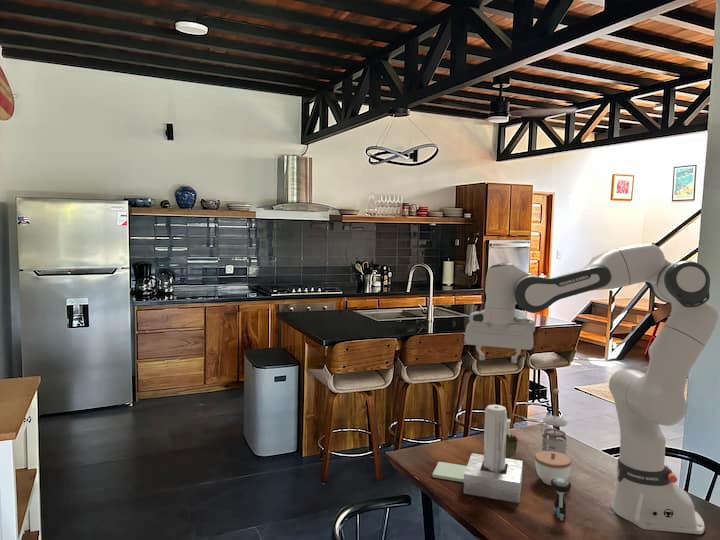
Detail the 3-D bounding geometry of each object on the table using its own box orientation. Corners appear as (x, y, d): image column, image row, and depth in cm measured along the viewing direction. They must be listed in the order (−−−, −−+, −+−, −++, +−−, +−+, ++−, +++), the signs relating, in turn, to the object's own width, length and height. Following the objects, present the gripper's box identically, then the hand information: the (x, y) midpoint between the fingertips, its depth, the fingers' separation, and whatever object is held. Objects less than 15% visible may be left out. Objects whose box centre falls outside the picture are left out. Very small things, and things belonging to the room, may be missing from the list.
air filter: (507, 484, 164) (509, 406, 162) (500, 493, 158) (503, 411, 156) (486, 479, 167) (489, 402, 165) (479, 487, 162) (482, 407, 160)
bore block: (522, 479, 167) (522, 460, 167) (519, 503, 152) (519, 483, 152) (471, 470, 173) (471, 453, 172) (463, 493, 158) (464, 473, 157)
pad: (468, 469, 174) (468, 466, 174) (463, 482, 165) (463, 479, 165) (438, 464, 178) (438, 461, 178) (432, 477, 168) (432, 474, 168)
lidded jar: (532, 472, 173) (533, 444, 172) (566, 475, 171) (567, 447, 170) (536, 487, 162) (537, 458, 161) (573, 491, 160) (574, 461, 159)
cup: (517, 465, 177) (518, 442, 177) (495, 463, 179) (496, 440, 178) (515, 456, 185) (516, 434, 184) (494, 454, 186) (495, 432, 186)
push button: (572, 523, 142) (573, 487, 141) (551, 520, 143) (552, 485, 143) (568, 510, 149) (569, 476, 148) (548, 508, 150) (549, 474, 149)
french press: (549, 467, 176) (551, 394, 175) (530, 453, 188) (532, 384, 186) (574, 464, 179) (577, 392, 177) (554, 450, 190) (557, 382, 188)
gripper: (535, 317, 159) (534, 362, 160) (467, 312, 166) (466, 355, 167) (535, 320, 153) (533, 367, 154) (464, 315, 160) (462, 360, 161)
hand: (497, 361), depth 160 cm, fingers open, 8 cm apart
